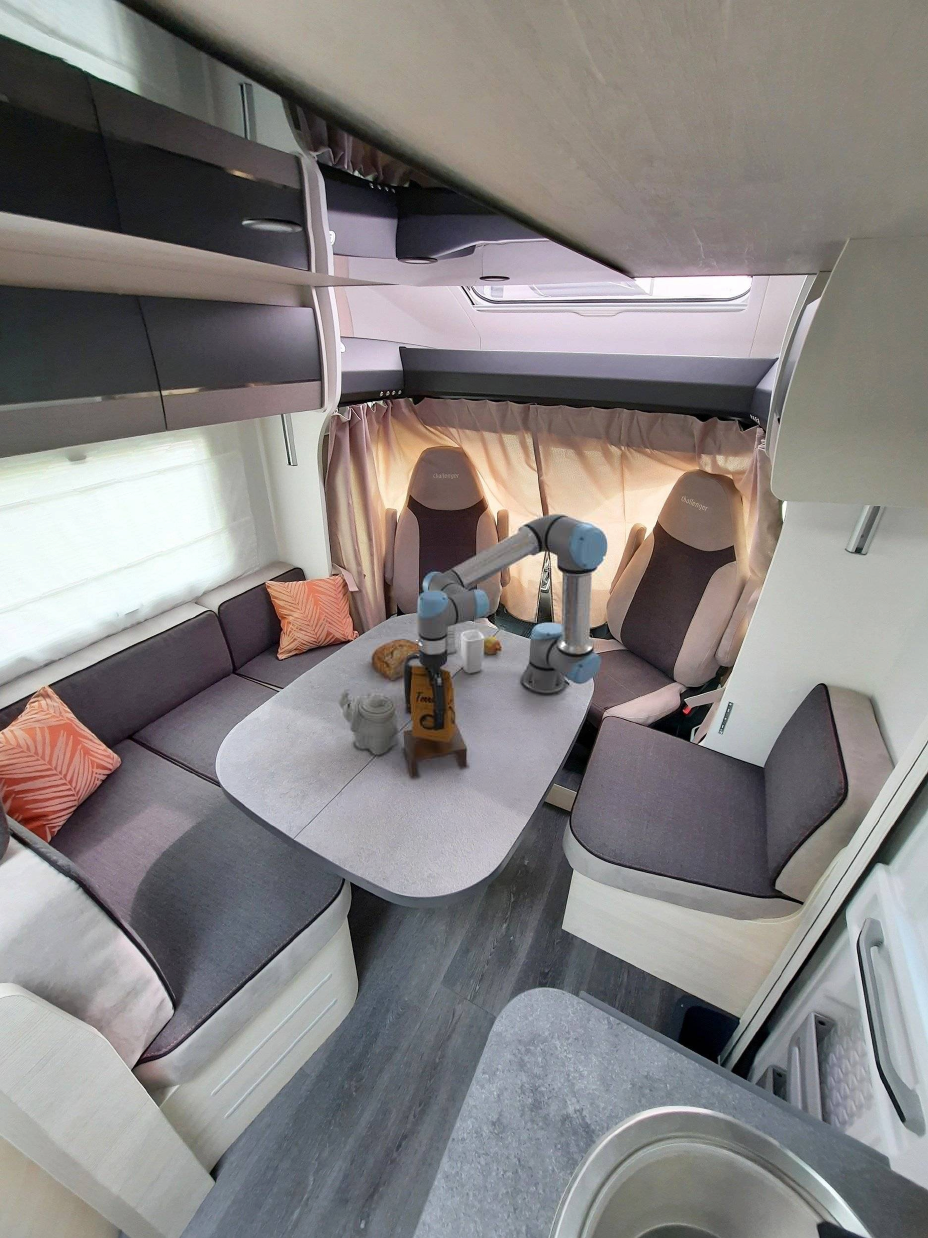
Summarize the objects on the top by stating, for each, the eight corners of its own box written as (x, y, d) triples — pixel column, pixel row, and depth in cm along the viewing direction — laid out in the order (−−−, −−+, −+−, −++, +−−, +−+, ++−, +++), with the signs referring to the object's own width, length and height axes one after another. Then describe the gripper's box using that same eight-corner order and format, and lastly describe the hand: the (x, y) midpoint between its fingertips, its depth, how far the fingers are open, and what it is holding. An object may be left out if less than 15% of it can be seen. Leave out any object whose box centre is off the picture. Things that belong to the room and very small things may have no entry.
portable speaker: (412, 722, 165) (409, 671, 156) (401, 706, 172) (398, 657, 163) (436, 714, 168) (435, 664, 159) (424, 699, 176) (422, 650, 166)
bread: (389, 684, 183) (388, 660, 179) (363, 663, 196) (361, 640, 191) (434, 664, 195) (434, 641, 191) (407, 645, 208) (406, 624, 203)
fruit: (475, 639, 202) (494, 647, 196) (486, 629, 205) (505, 637, 199) (477, 652, 206) (496, 660, 200) (488, 642, 210) (507, 650, 204)
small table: (455, 740, 157) (455, 722, 154) (466, 767, 147) (466, 748, 144) (404, 749, 153) (403, 731, 150) (411, 777, 143) (411, 758, 140)
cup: (484, 672, 191) (485, 638, 184) (466, 676, 189) (467, 641, 182) (476, 662, 197) (477, 629, 190) (459, 666, 195) (459, 632, 188)
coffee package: (449, 749, 140) (449, 682, 130) (407, 739, 143) (404, 673, 133) (460, 726, 148) (461, 662, 138) (420, 718, 152) (418, 654, 142)
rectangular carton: (428, 644, 209) (427, 612, 202) (449, 641, 211) (449, 609, 204) (433, 656, 201) (433, 622, 194) (455, 652, 203) (456, 619, 197)
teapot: (341, 731, 160) (335, 681, 152) (388, 719, 166) (385, 670, 157) (353, 765, 147) (347, 713, 138) (403, 751, 152) (401, 700, 144)
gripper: (410, 629, 142) (412, 693, 152) (429, 675, 122) (430, 745, 132) (436, 626, 144) (437, 689, 154) (459, 670, 124) (458, 740, 134)
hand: (433, 715), depth 143 cm, fingers closed on coffee package, 11 cm apart
